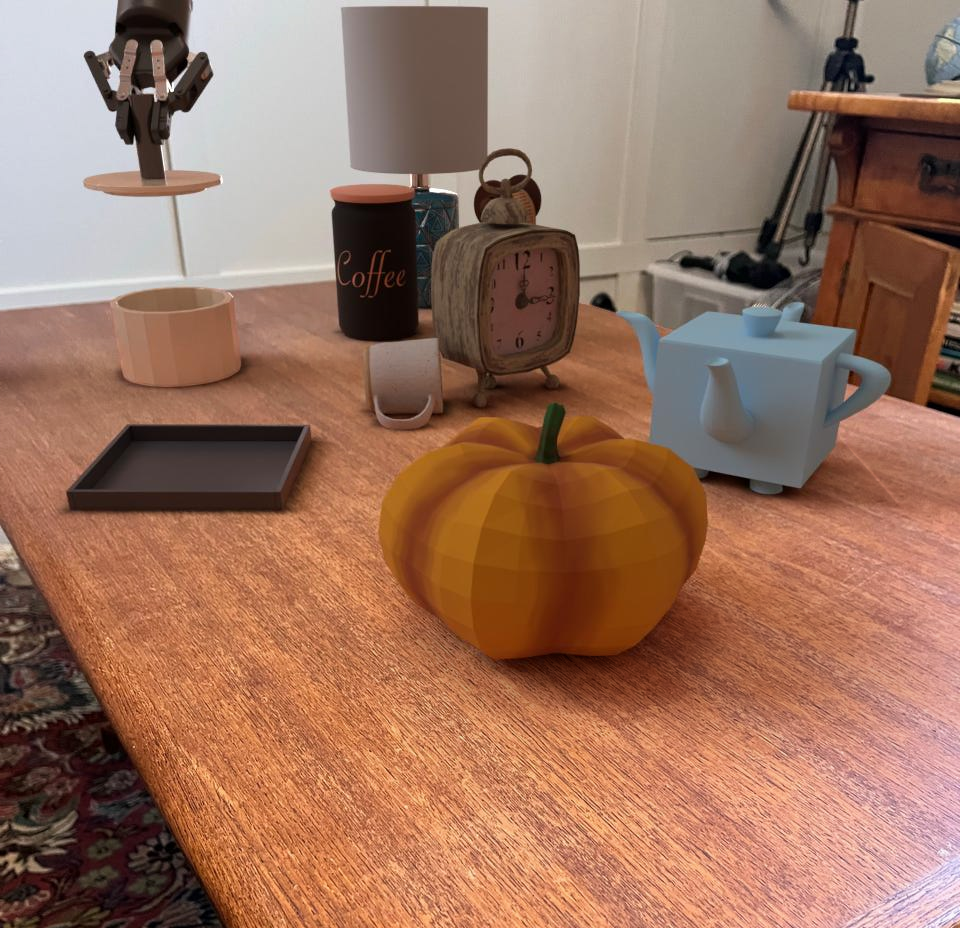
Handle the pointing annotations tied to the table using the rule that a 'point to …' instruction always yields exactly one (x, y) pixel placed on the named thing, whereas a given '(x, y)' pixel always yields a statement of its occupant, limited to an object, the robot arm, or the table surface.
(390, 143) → the lamp
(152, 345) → the canister
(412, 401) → the ceramic mug
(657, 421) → the teakettle
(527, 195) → the dark rounded piece
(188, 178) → the lid
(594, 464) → the decorative pumpkin
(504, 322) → the tabletop clock
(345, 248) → the coffee jar
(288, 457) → the tray
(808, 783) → the table surface
